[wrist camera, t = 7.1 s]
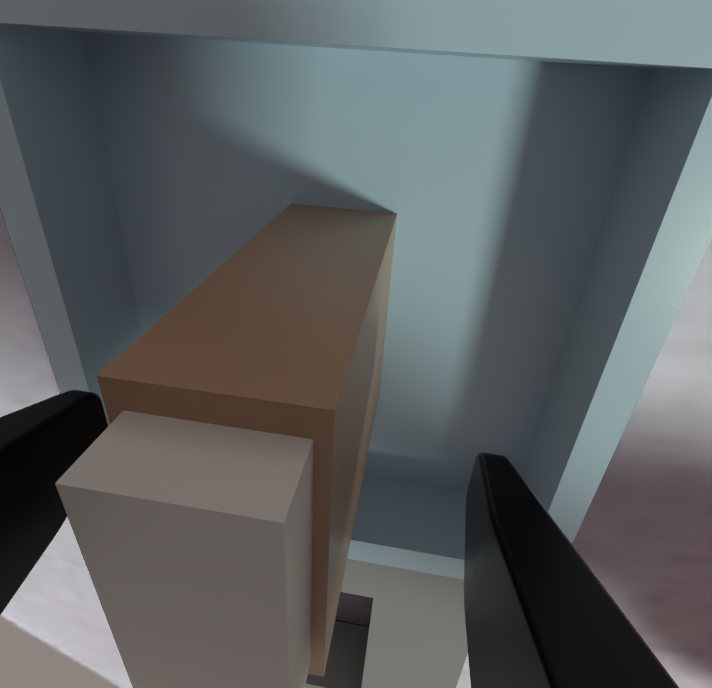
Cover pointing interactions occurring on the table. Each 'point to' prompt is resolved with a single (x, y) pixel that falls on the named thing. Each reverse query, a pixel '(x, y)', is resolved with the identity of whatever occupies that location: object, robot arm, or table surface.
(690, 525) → the table surface
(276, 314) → the block
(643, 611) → the table surface
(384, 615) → the block
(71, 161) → the parts tray
